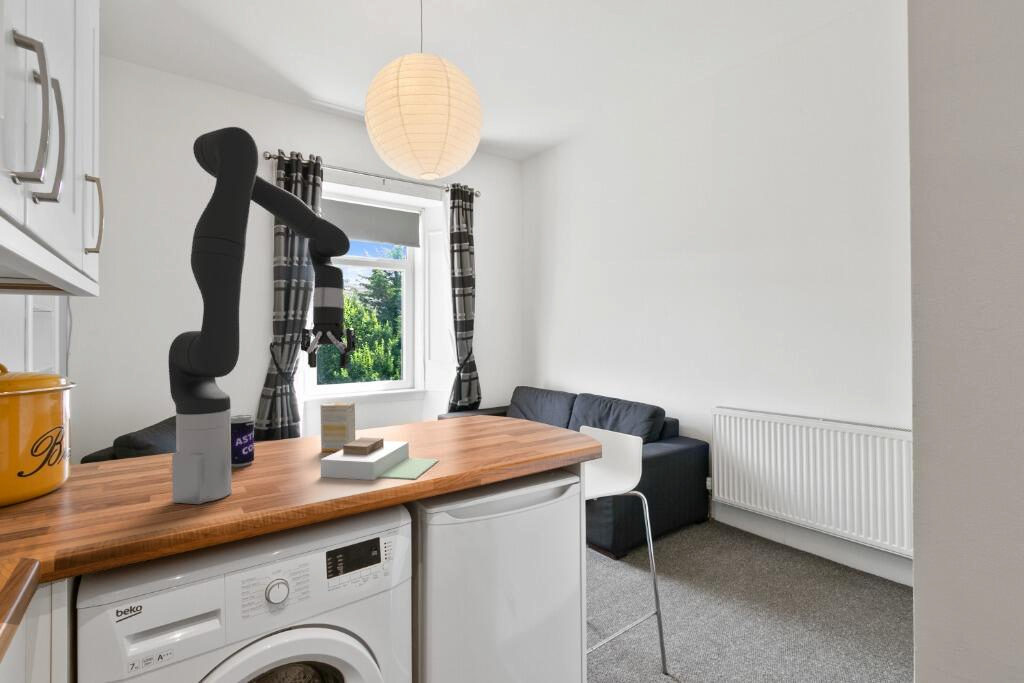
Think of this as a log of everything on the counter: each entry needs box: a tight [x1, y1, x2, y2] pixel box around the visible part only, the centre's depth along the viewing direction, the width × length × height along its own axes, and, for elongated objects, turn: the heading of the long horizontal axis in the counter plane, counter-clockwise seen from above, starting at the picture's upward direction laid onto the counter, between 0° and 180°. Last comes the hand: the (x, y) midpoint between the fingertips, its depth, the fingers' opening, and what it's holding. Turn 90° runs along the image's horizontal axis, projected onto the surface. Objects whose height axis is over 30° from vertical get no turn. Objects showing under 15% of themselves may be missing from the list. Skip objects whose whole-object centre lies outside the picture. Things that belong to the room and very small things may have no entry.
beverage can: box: [231, 414, 255, 468], centre depth 120 cm, size 6×6×12 cm
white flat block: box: [320, 440, 410, 481], centre depth 118 cm, size 20×13×4 cm, turn 170°
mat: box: [378, 457, 440, 480], centre depth 117 cm, size 16×9×1 cm, turn 170°
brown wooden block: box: [343, 437, 385, 455], centre depth 119 cm, size 9×6×2 cm, turn 170°
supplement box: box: [320, 402, 356, 452], centre depth 135 cm, size 8×5×13 cm, turn 84°
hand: (328, 367), depth 126 cm, fingers open, 8 cm apart
